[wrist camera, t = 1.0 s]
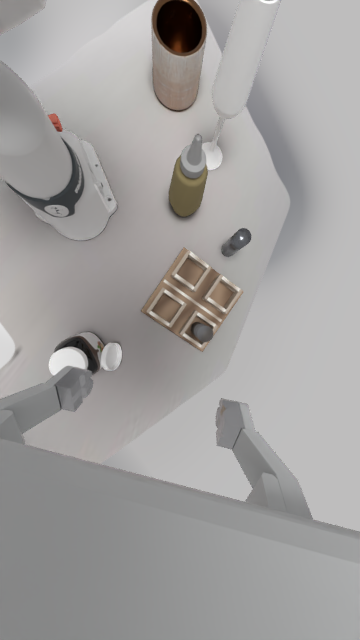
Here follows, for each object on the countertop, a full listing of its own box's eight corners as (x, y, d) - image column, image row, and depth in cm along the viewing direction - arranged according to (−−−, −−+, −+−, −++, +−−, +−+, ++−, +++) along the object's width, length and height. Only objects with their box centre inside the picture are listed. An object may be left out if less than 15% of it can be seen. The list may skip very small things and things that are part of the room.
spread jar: (67, 339, 44) (34, 352, 33) (107, 320, 45) (89, 325, 33) (91, 378, 46) (67, 403, 34) (129, 359, 46) (118, 377, 35)
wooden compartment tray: (141, 310, 45) (135, 312, 35) (183, 248, 45) (189, 232, 35) (201, 350, 48) (211, 362, 38) (241, 292, 48) (262, 288, 38)
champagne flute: (203, 136, 43) (255, -69, 20) (226, 150, 44) (302, -28, 20) (192, 161, 44) (230, -12, 20) (215, 175, 44) (277, 26, 21)
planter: (176, 53, 41) (180, -23, 32) (206, 93, 43) (219, 32, 33) (143, 83, 41) (138, 16, 31) (175, 122, 42) (179, 70, 33)
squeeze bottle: (204, 201, 45) (232, 132, 27) (188, 227, 45) (206, 177, 27) (178, 182, 44) (189, 97, 26) (162, 209, 44) (162, 144, 26)
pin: (220, 244, 46) (234, 229, 37) (233, 242, 47) (250, 227, 38) (222, 257, 47) (236, 246, 38) (234, 255, 47) (252, 243, 38)
